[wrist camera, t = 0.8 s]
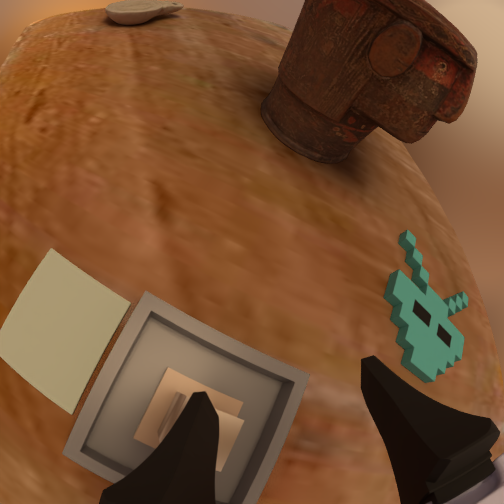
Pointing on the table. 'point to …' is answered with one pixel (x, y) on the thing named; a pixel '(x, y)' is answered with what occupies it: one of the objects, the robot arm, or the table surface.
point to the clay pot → (367, 75)
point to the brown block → (227, 427)
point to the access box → (186, 382)
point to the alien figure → (423, 318)
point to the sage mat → (60, 329)
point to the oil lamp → (139, 10)
